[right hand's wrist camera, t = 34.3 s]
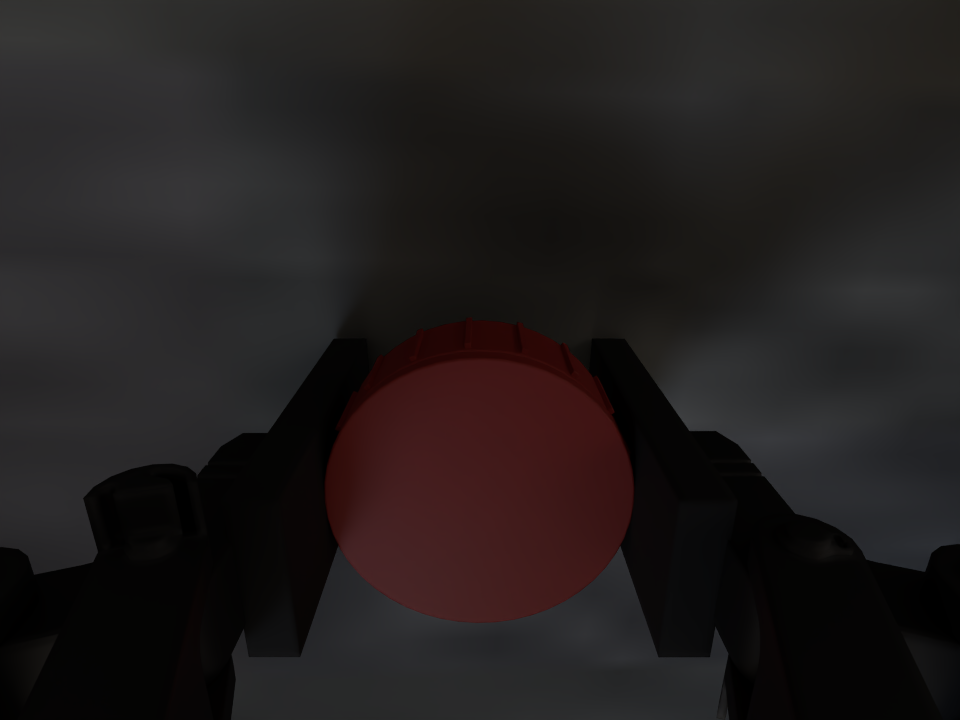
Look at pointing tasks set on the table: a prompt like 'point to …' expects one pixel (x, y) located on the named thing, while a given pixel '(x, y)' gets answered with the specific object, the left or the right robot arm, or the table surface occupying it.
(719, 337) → the table surface
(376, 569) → the lid
